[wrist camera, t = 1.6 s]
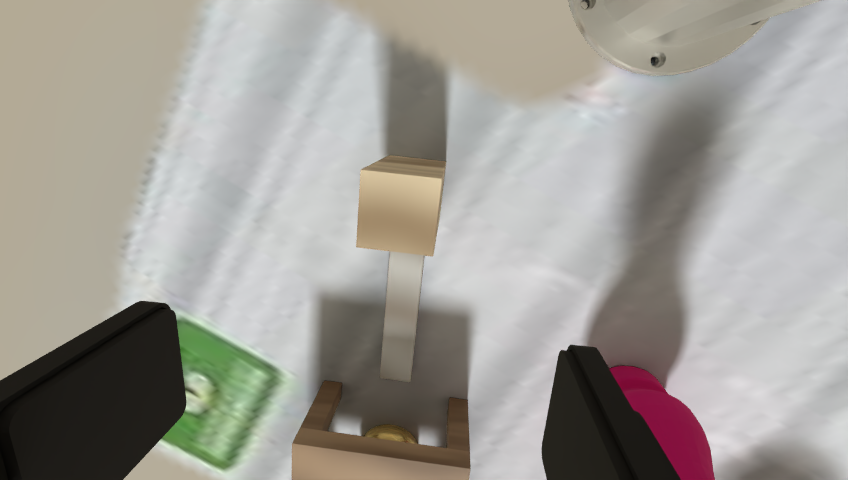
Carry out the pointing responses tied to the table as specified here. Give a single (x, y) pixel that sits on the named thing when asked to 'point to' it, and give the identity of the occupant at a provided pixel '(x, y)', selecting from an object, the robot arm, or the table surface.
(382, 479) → the small wooden table
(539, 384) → the table surface
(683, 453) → the pepper mill
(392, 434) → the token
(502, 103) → the table surface
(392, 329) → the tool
